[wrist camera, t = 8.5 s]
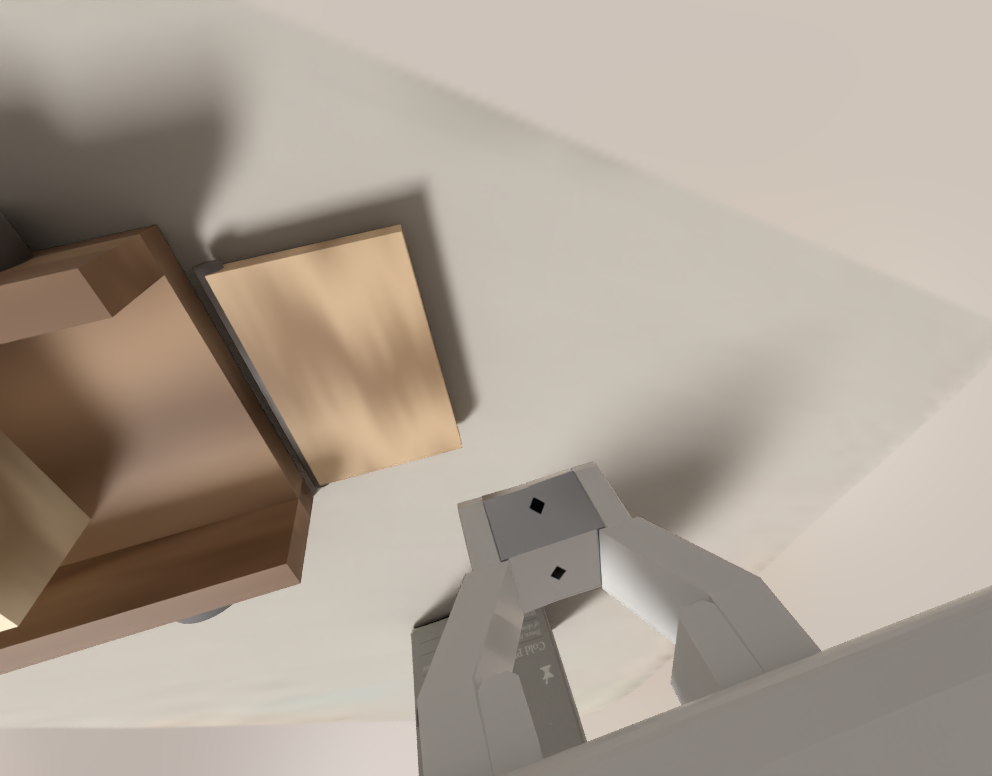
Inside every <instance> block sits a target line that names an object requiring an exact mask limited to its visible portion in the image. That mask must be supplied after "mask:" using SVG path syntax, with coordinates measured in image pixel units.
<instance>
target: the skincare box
mask: <svg viewBox="0 0 992 776" xmlns="http://www.w3.org/2000/svg"><path fill="white" fill-rule="evenodd" d="M523 616H524V618H523V623H522V628H521V633H520V638H519V643H518V648H517V652H516V657H515V662H514V667H513V672H512V673H515V674H517V675H519V678H520V682H521V685H522V688H523V691H524V695H525V698H526V701H527V705H528V708H529V711H530V714H531V718H532V721H533V724H534V728H535V731H536V734H537V737H538V741H539V744H540V748H541V751H542V755H543V758H547V757H549V756H552V755H555V754H557V753H560V752H562V751H565V750H568V749H570V748H573V747H575V746H578V745H580V744H583V743H586V742H587V740H586V737H585V734H584V730H583V727H582V724H581V721H580V717H579V714H578V711H577V708H576V704H575V701H574V698H573V695H572V692H571V689H570V686H569V682H568V679H567V676H566V673H565V670H564V667H563V664H562V660H561V657H560V654H559V651H558V648H557V645H556V642H555V639H554V635H553V632H552V629H551V626H550V623H549V620H548V617H547V614H546V611H545V608H544V606H543V607H540V608H538V609H535V610H533V611H530V612H527V613H525V614H523ZM447 621H448V618H446V619H443V620H441V621H437V622H434V623H431V624H429V625H426V626H422V627H419V628H416V629H413V630H412V633H411V640H412V657H413V674H414V694H415V712H416V730H417V749H418V767H419V776H424V775H423V764H422V753H421V741H420V730H419V719H418V707H417V698H418V696H419V693H420V691H421V688H422V685H423V683H424V680H425V678H426V675H427V672H428V670H429V667H430V665H431V662H432V659H433V657H434V654H435V652H436V649H437V647H438V644H439V641H440V639H441V636H442V634H443V631H444V628H445V626H446V623H447Z"/></svg>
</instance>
